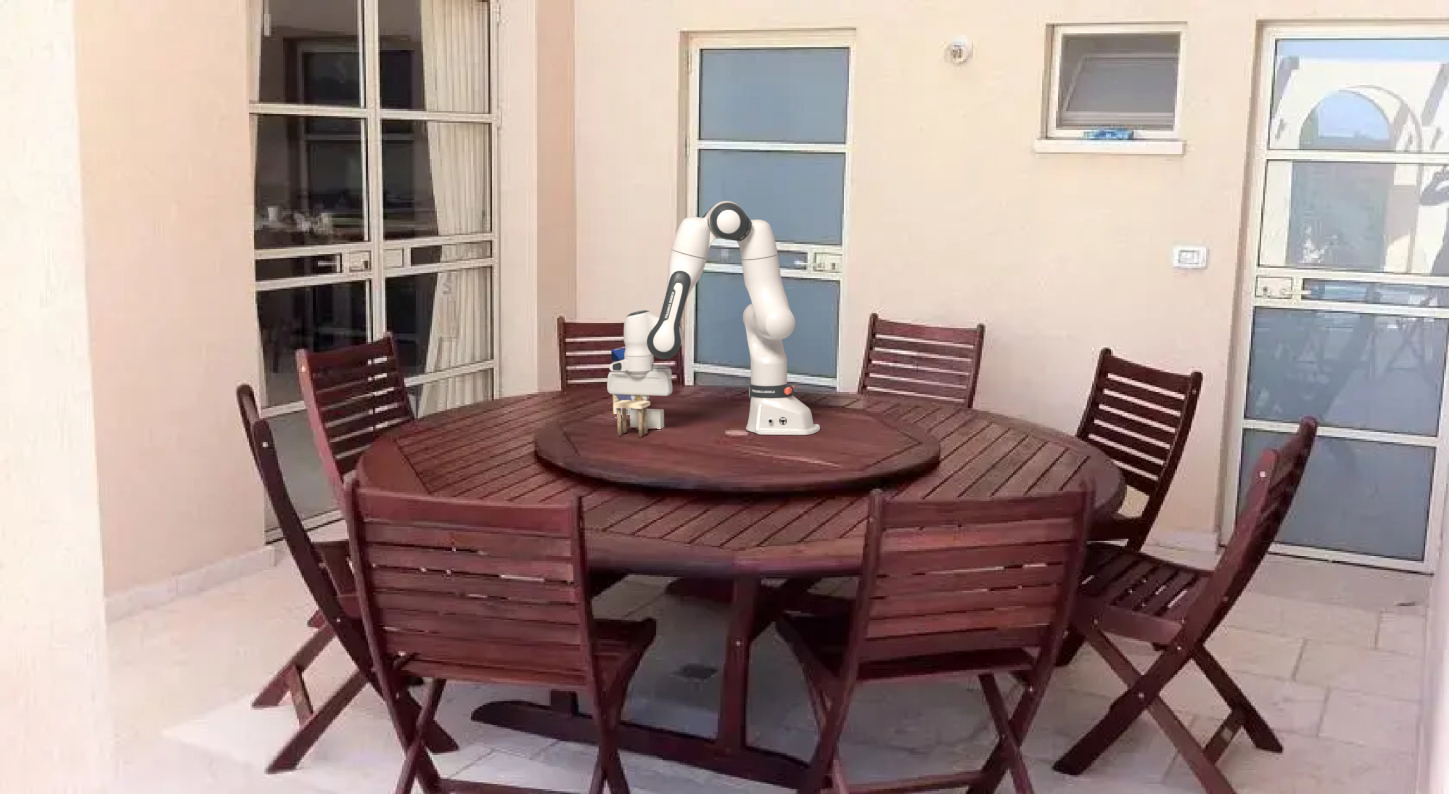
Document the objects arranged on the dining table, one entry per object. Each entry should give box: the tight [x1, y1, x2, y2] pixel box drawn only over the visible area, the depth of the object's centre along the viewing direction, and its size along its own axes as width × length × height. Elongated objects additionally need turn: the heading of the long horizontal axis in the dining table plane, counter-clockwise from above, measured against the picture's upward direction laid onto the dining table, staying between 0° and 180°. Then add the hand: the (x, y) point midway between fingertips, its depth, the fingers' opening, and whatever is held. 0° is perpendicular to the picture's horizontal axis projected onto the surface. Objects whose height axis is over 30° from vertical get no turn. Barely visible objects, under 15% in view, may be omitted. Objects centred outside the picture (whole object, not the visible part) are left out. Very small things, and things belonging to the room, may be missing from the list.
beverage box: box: [610, 345, 644, 415], centre depth 441 cm, size 7×11×22 cm, turn 160°
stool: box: [612, 400, 651, 437], centre depth 405 cm, size 9×7×10 cm
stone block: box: [629, 408, 665, 429], centre depth 417 cm, size 10×3×6 cm, turn 72°
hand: (640, 409), depth 411 cm, fingers closed
